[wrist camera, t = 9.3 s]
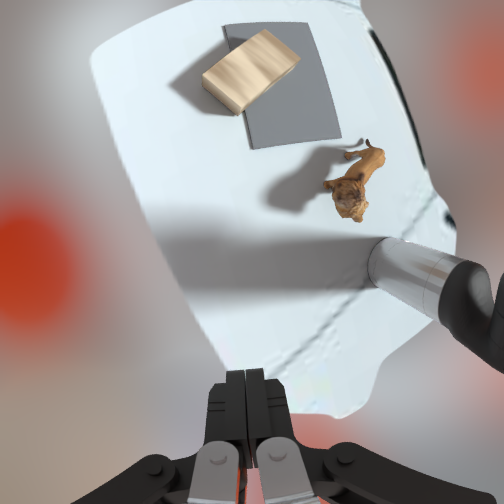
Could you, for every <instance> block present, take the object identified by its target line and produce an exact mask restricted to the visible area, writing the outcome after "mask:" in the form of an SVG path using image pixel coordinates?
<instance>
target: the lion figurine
mask: <svg viewBox="0 0 504 504" xmlns="http://www.w3.org/2000/svg"><path fill="white" fill-rule="evenodd" d="M365 142H366V145H367V146H368V147H369V148H367V149H364V150H361V151H354V152H347V153H345V158H346V159H348V160H349V159H351V158H352V157H353V156H360V157H362V159H361V160H359V161H357V162H356V163H354V164H353V165H352V166H351V167H350V168H349V169H348V171H347V172H346V174H345V176H343V177H340V178H337V179H334V180H329V181H325V182H324V187H325V188H326V189H329V188H332V187H333V188H332V190H333V193H332V197H333V198H332V199H333V200H334V202H335V206H336V209H337V212H338V213H339V215H340V216H341V217H342V218H352V219H353V221H355V222H359V223H360V222H362V221H363V218H362V215H363V213H364V212H365V209H366V208H367V207H368V205H369V202H367V201H366V198H365V196H364V195H365V194H364V193H365V188H364V185H365V184H366V183H367V181H368V180H369V178H370V177H371V175H372V173H373V172H374V171H375V170H376V169H377V168H379V167H381V166H383V164H384V162H385V156H384V155H385V153H384V150H383V149H380V148H375V147H373V146H371V145H370V142H369V140H368V139H366V141H365Z"/></svg>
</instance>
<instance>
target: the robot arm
mask: <svg viewBox="0 0 504 504" xmlns="http://www.w3.org/2000/svg"><path fill="white" fill-rule="evenodd" d="M368 273H369V277H370V280H371V281H372V283H373V284H374V285H376V286H377V287H379V288H381V289H382V290H384V291H386V292H388V293H389V294H391V295H393V296H394V297H396V298H398V299H399V300H401V301H403V302H405V303H406V304H408V305H410V306H411V307H413V308H415V309H416V310H418V311H420V312H421V313H423V314H425V315H426V316H428V317H430V318H432V319H433V320H435V321H437V322H438V323H440V324H441V325H444V326H445V327H446V328H448V329H449V331H450V332H451V334H452V335H453V337H454V338H455V339H456V340H458V341H459V342H460V343H461V344H463V345H464V346H465V347H467V348H468V349H469V350H471V351H472V352H473V353H475V354H476V355H477V356H478V357H480V358H481V359H482V360H483V361H485V362H486V363H487V364H489V365H490V366H491V367H493V368H494V369H496V370H498V371H499V372H501V373H503V374H504V273H503V275H502V277H501V279H500V282H499V286H498V290H497V295H496V300H495V304H494V301H493V297H492V291H491V285H490V279H489V275H488V273H487V271H486V269H485V268H484V267H483V266H482V265H480V264H478V263H475V262H472V261H469V260H466V259H463V258H460V257H457V256H454V255H451V254H447V253H444V252H441V251H438V250H435V249H432V248H428V247H425V246H422V245H418V244H415V243H411V242H408V241H404V240H401V239H397V238H394V237H389V238H385V239H383V240H382V241H380V242H379V243H378V244H377V245H376V246H375V248H374V249H373V251H372V253H371V255H370V258H369V262H368ZM207 411H208V412H207V418H206V428H205V439H204V444H203V446H202V447H201V448H200V449H199V451H198V452H197V453H196V454H194V455H192V456H189V457H186V458H182V459H177V460H172V461H171V460H170V459H168V457H166V456H163V455H159V454H154V455H148V456H146V457H144V458H142V459H141V460H139V461H138V462H137V463H135V464H134V465H132V466H131V467H129V468H128V469H126V470H125V471H123V472H122V473H120V474H119V475H117V476H116V477H114V478H113V479H111V480H110V481H108V482H107V483H105V484H103V485H102V486H100V487H98V488H97V489H95V490H94V491H92V492H90V493H89V494H87V495H85V496H83V497H82V498H80V499H78V500H76V501H75V502H73V503H71V504H246V497H247V469H251V468H253V463H252V457H253V462H254V467H255V468H259V474H260V480H261V485H262V491H263V496H264V501H265V504H321V503H320V501H319V499H318V497H317V496H319V497H321V498H322V499H323V500H325V501H327V502H329V503H330V504H497V502H496V499H495V498H494V496H492V495H491V494H489V493H485V492H481V491H476V490H473V489H469V488H465V487H462V486H458V485H455V484H452V483H449V482H446V481H443V480H440V479H437V478H434V477H431V476H429V475H426V474H423V473H421V472H418V471H415V470H413V469H410V468H408V467H405V466H403V465H401V464H398V463H396V462H394V461H391V460H389V459H387V458H385V457H382V456H380V455H378V454H376V453H374V452H372V451H370V450H368V449H366V448H364V447H362V446H360V445H358V444H355V443H352V442H342V443H338V444H336V445H334V446H332V447H331V448H330V449H314V448H309V447H306V446H304V445H302V444H300V443H299V442H298V441H297V440H296V438H295V436H294V433H293V428H292V424H291V418H290V413H289V409H288V404H287V399H286V394H285V389H284V386H283V385H282V384H281V383H280V381H279V380H278V379H268V380H264V372H263V368H258V369H247V370H246V378H245V371H244V370H235V371H227V372H226V383H218V384H214V386H213V388H212V389H211V390H210V392H209V398H208V408H207Z"/></svg>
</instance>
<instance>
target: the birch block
mask: <svg viewBox="0 0 504 504" xmlns="http://www.w3.org/2000/svg"><path fill="white" fill-rule="evenodd" d="M300 60H301V58H300V57H299V56H298V55H297V54H295V53H294V52H293V51H292V50H291V49H290V48H288V47H287V46H286V45H285V44H284V43H282V42H281V41H280V40H279V39H277V38H276V37H275V36H274V35H272V34H271V33H270V32H268V31H267V30H266V29H264V30H262V31H261V32H259V33H258V34H256V35H255V36H253V37H252V38H250V39H249V40H247V41H246V42H244V43H243V44H241V45H240V46H239V47H237V48H236V49H234V50H233V51H232V52H230V53H229V54H228V55H226V56H225V57H224V58H222V59H221V60H220V61H219V62H217V63H216V64H215V65H214V66H212V67H211V68H210V69H209V70H207V71H206V72H205V73H204V74H203V75H202V86H203V87H204V88H205V89H206V90H208V91H209V92H210V93H211V94H212V95H214V96H215V97H216V98H217V99H218V100H220V101H221V102H222V103H223V104H224V105H225V106H227V107H228V108H229V109H230V110H231V111H232V112H233V113H235V114H236V115H237V116H238V115H240V114H241V113H242V112H243V111H244V110H245V109H246V108H247V107H248V106H249V105H251V104H252V103H253V102H254V101H255V100H256V99H257V98H259V97H260V96H261V95H262V94H263V93H264V92H265V91H267V90H268V89H269V88H270V87H271V86H273V85H274V84H275V83H276V82H277V81H279V80H280V79H281V78H282V77H284V76H285V75H286V74H287V73H289V72H290V71H291V70H292V69H293V68H294V67H295V66H296V65H297V63H298V62H299V61H300Z"/></svg>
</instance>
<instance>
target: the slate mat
mask: <svg viewBox="0 0 504 504" xmlns="http://www.w3.org/2000/svg"><path fill="white" fill-rule="evenodd" d="M264 29H266V30H267V31H268V32H270V33H271V34H272V35H274V36H275V37H276V38H277V39H279V40H280V41H281V42H282V43H284V44H285V45H286V46H287V47H288V48H290V49H291V50H292V51H293V52H294V53H295V54H297V55H298V56H299V57H300V58H301V60H300V61H299V62H298V63H297V65H296V66H295V67H294V68H293V69H292V70H291V71H290V72H289V73H287V74H286V75H285V76H284V77H282V78H281V79H280V80H279V81H277V82H276V83H275V84H274V85H273V86H271V87H270V88H269V89H268V90H267V91H265V92H264V93H263V94H262V95H261V96H260V97H259V98H257V99H256V100H255V101H254V102H253V103H252V104H251V105H249V106H248V107H247V108H246V109H245V114H246V118H247V123H248V127H249V131H250V136H251V141H252V145H253V150H255V149H260V148H266V147H273V146H279V145H286V144H293V143H301V142H309V141H318V140H327V139H338V138H342V135H341V131H340V127H339V122H338V118H337V114H336V110H335V106H334V103H333V99H332V95H331V92H330V88H329V85H328V81H327V78H326V75H325V71H324V68H323V65H322V62H321V59H320V56H319V53H318V50H317V47H316V44H315V41H314V39H313V36H312V33H311V30H310V28H309V25H308V23H302V22H256V23H240V24H229V25H225V30H226V34H227V38H228V42H229V46H230V50H231V52H232V51H233V50H234V49H236V48H237V47H239V46H240V45H241V44H243V43H244V42H246V41H247V40H249V39H250V38H252V37H253V36H255V35H256V34H258V33H259V32H261V31H262V30H264Z"/></svg>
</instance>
